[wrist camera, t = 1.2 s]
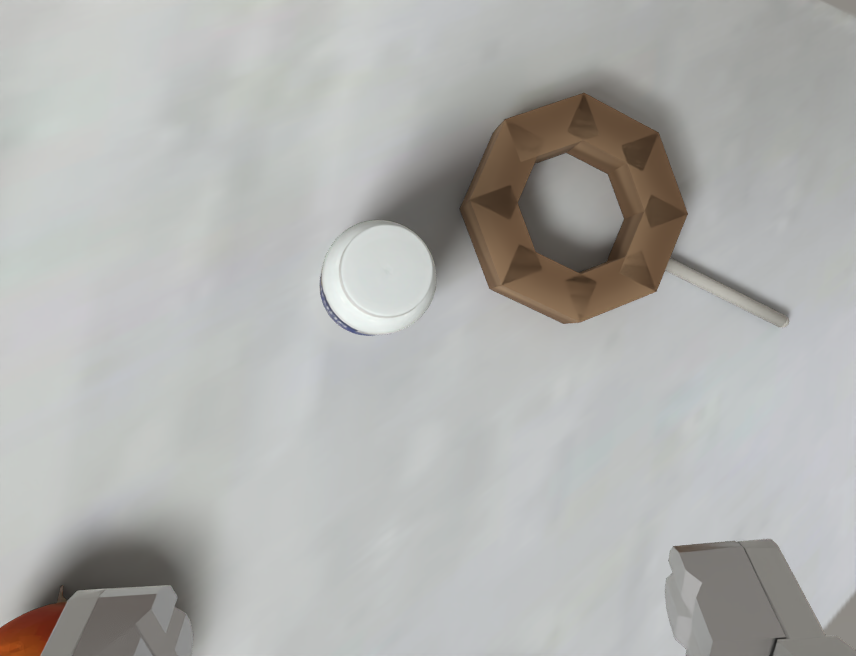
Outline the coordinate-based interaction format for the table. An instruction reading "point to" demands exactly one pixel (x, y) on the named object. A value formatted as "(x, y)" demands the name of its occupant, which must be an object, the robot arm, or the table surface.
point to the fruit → (31, 630)
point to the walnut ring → (634, 188)
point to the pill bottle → (377, 278)
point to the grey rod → (726, 293)
